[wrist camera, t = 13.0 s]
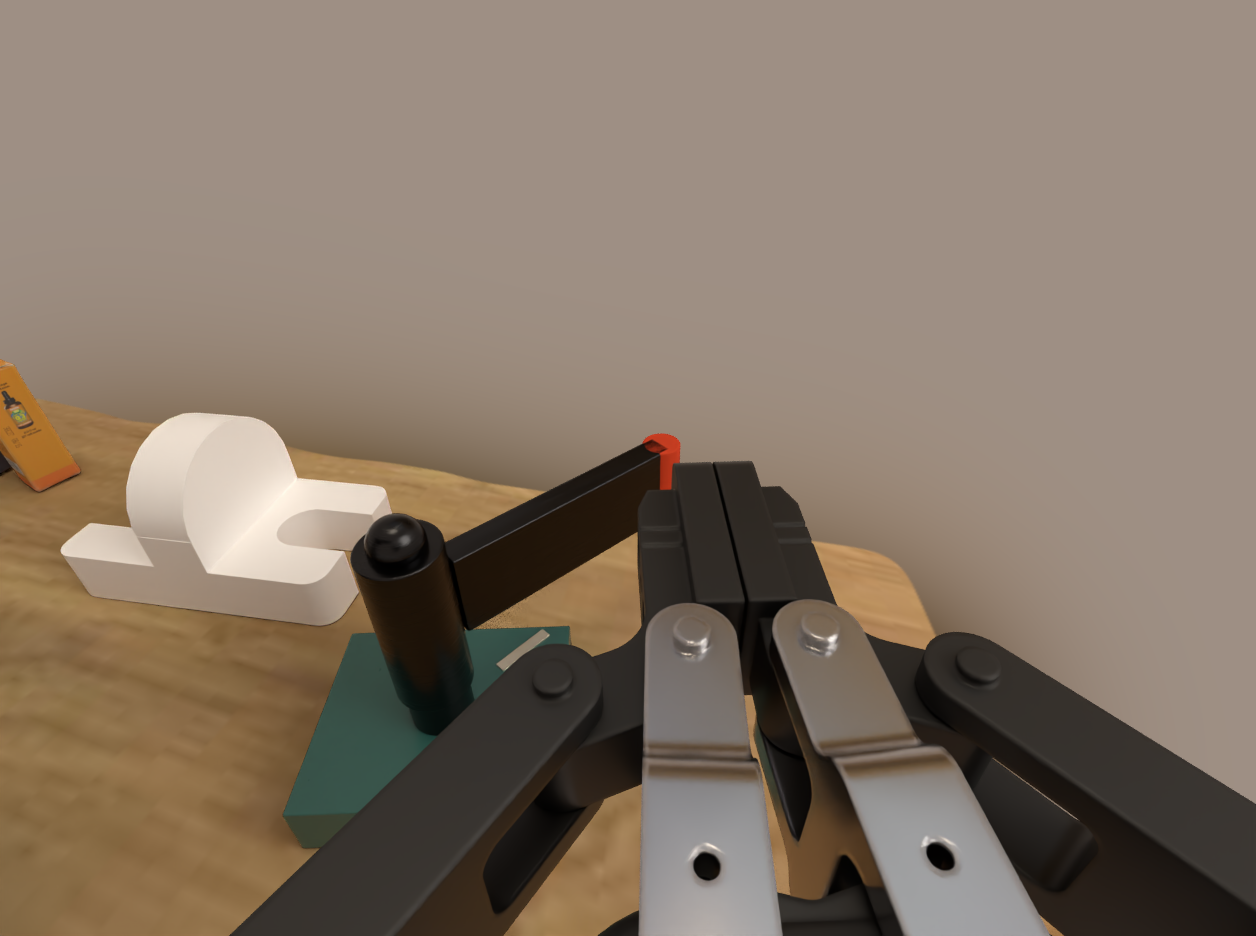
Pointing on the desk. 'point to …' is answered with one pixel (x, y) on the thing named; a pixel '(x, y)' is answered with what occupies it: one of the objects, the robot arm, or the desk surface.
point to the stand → (384, 727)
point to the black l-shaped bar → (490, 567)
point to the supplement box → (30, 435)
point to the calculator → (3, 463)
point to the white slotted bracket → (228, 527)
